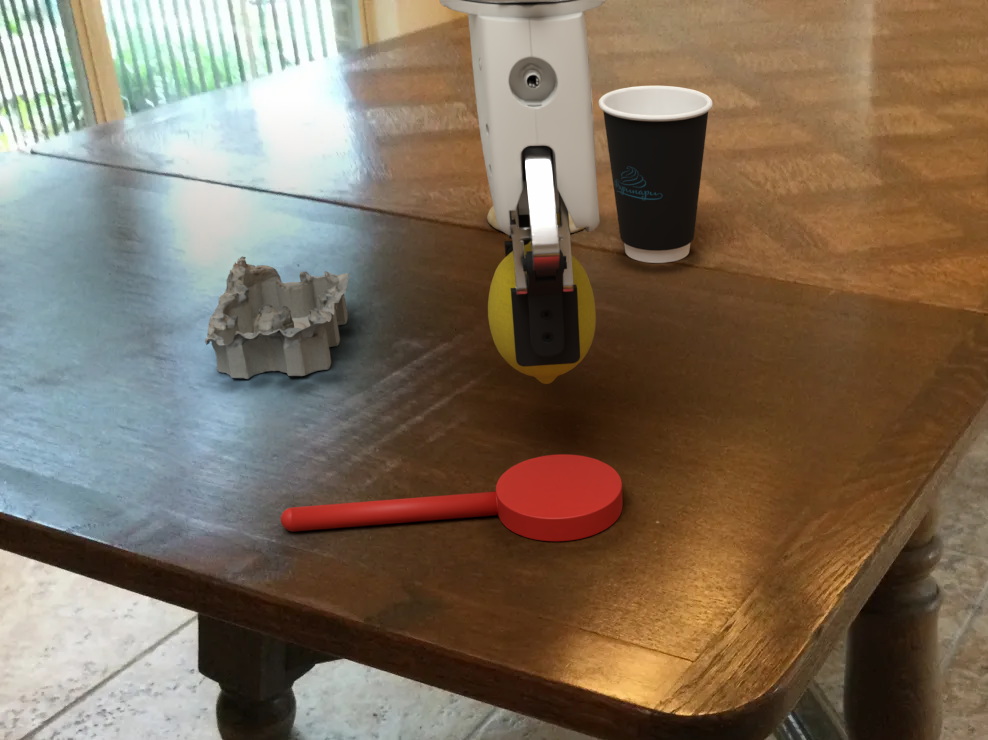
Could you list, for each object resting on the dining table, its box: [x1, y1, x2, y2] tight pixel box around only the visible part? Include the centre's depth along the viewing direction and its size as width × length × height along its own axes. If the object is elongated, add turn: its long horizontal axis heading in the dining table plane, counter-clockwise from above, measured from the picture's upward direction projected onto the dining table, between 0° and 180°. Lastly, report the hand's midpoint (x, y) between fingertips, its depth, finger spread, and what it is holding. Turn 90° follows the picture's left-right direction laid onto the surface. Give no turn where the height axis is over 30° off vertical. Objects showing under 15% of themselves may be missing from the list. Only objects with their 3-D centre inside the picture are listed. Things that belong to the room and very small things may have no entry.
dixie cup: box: [598, 85, 713, 264], centre depth 97 cm, size 8×8×11 cm
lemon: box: [487, 241, 597, 385], centre depth 70 cm, size 6×6×8 cm
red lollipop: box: [280, 453, 624, 543], centre depth 68 cm, size 17×6×1 cm, turn 100°
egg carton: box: [204, 256, 350, 380], centre depth 84 cm, size 11×8×4 cm
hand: (543, 333), depth 70 cm, fingers closed on lemon, 5 cm apart
